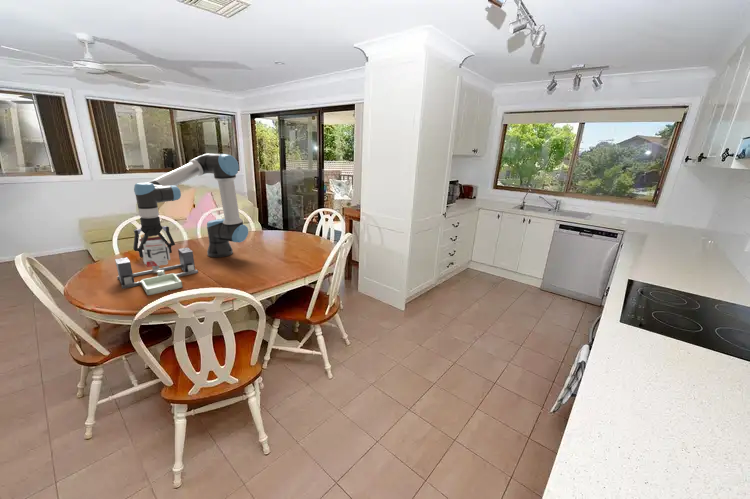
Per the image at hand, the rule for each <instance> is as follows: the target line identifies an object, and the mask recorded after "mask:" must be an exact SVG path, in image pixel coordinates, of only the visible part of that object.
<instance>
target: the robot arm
mask: <svg viewBox="0 0 750 499" xmlns="http://www.w3.org/2000/svg"><path fill="white" fill-rule="evenodd" d="M239 169H240V167H239V162H238V160H237V158H235V156H233V155H231V154H227V153H213V152H207V153H204V154H201V155H198V156H197V157H194V158H193V159H192V158H191V159H189V161H188V163H186V164H183V165H182V166H180V167H177V168H175V169H174V170H171V171H169V172H166V173H165V174H163V175H161V176H158V177H157V178H155V179H151V180H150V181H148V182H137V183H135V184H134V187H133V192H134V195H135V199H136V205H137V208H138V209H137V210H138V214H139V217H140V218H139V221H140V226H141V227H140V228H138V229H133V232H134V233H133V234H134V238H133V239H134V240H133V248H132V249H133V250H134V251H135V252H138V254H139V257H140V259H141V258H142V260H143V264H144V265H147V262H146V257H145V251H144V250H143V248H144V246H143V244H145V243H146V241H147V239H148V237H150V236H157V235H158V236H159V237H160V238H161V239H162V240H163V241H165V245H166V252H167V259H168V261H171V255H170V254H172V251H173V250H172V247H173V246H176V243H175V241H174V239H173V237H172V235H171V231H170V226H168V225H165V226H164V225H161V217H160V216H159V215H160V212H159V208H158V207H159V206H158V203H165V202H166V203H167V202H174V201H178V200H179V199H181V196H182V195H181V194H182V193H181V192H182V191H181V189H180V188H179V185H181V184H182V183H185V182H186V181H189V180H191V179H193V178H194V177H196V176H198V177H199V176H200V177H201V176H203V175H205V174H213V177H214V179H215V180H216V181H217V183H218V188H219V189H218V190H219V195H220V202H221V205H222V211H223V216H224V218H219V219H218V218H217V219H212V220H208V222H207V224H206V229H207V236H208V247H207V251H206V252H207V253H206V254H207V256H208V257H210V258H223V257H228V256H231V255H232V254H233V252H234V251H233V247H232V245H231V243H230V242H232V243H243V242H245V240H246V239H247V237H248V235H249V228H248V226H247V225H246V224H244V222H243V219H242V218H241V217H240V213H239V212H240V211H239V205H238V200H237V192H236V187H235V181H234V180H235V179H236V177H237V176H236V175H237V174H238V171H239ZM162 230H163V231H164V232H165V234H166V235H167V238H168V240H169V242H170V243H169V242H168V240H167V239H166V238H164V237H165V236H164V235H163V234H162V235H161V233H162ZM141 232H142V234H143V233H145V234H144V237H143V239H142V241H141V242H140V244H139V240H140V238H139V237H140V234H141Z"/></svg>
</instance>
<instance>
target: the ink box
mask: <svg viewBox="0 0 750 499" xmlns="http://www.w3.org/2000/svg"><path fill="white" fill-rule="evenodd" d="M165 245H166V244H165V241H163V240H151V241H146V243H145V244H143V246H144V251H145V257H146V262H147V264H146V266H147V268H150V267H151V268H152V266H159V267H160V266H167V265H168V264H169V260H168V259H167V252H166V246H167V245H166V246H165Z"/></svg>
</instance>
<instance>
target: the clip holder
mask: <svg viewBox="0 0 750 499" xmlns="http://www.w3.org/2000/svg"><path fill="white" fill-rule="evenodd" d="M177 252H178V257H179V264H175V265H171V266H165V267H161V268H160V265H159V266H151V268H152V269H149V270H143V271H140V272H133V268H132V264H131V260H130V259H129V258H128V256H127V257H121V258H115V259H114V261H115V266H116V269H117V274H118V276H116V278H117V280H119V283H120V284H121V289H122V290H123V289H130V288H134V287H137V286H142V284H141V281H137V282H135V278H134V277H139V276H144V275H148V274H157V276H162V275H166V273H165V271H170V270H175V269H178V268H179V269H181V271H183V272H180V273H175V275H176V276H177V277H178V278H181V277H184V276H189V275H194V274H198V273H199V269H196V267H195V259H194V251H193V250H192V249H191V248H189V247H182V248H177Z"/></svg>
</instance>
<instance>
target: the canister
mask: <svg viewBox="0 0 750 499" xmlns="http://www.w3.org/2000/svg"><path fill="white" fill-rule="evenodd" d="M160 233H161V235H162V236H163V233H162V232H160ZM144 234H145V233H143V232H142V234H141V235H139V237H140V238H139V240H138V242H140V243H141V241H142V239H143V237H144ZM163 237H164V238H165V236H163ZM165 239H166V238H165ZM151 240H162V239H161V238H160V237H159V236H158V235H157V236H150V237H148V239H147V241H151ZM165 246H167V245H166V244H165ZM143 250H144V248H143Z"/></svg>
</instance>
